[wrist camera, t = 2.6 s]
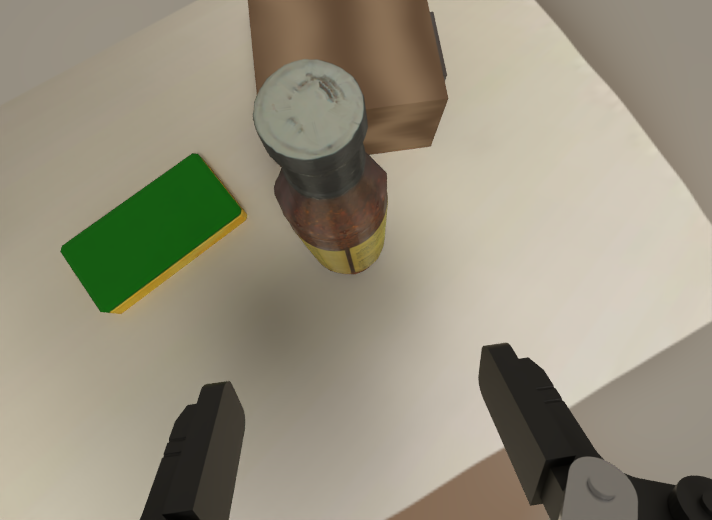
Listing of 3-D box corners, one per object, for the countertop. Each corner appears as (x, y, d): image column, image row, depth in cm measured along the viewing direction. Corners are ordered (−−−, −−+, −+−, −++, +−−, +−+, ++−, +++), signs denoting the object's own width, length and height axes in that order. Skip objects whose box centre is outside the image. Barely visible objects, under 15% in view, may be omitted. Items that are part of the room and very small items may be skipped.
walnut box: (280, 166, 34) (259, 123, 27) (268, 54, 36) (246, -11, 29) (439, 145, 34) (458, 96, 27) (416, 35, 36) (429, -35, 30)
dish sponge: (79, 254, 33) (57, 247, 30) (206, 163, 34) (195, 150, 32) (121, 316, 32) (101, 315, 29) (250, 219, 33) (242, 210, 31)
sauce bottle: (376, 203, 33) (398, 13, 13) (388, 271, 32) (432, 169, 12) (304, 214, 33) (221, 38, 13) (313, 283, 32) (236, 198, 12)
